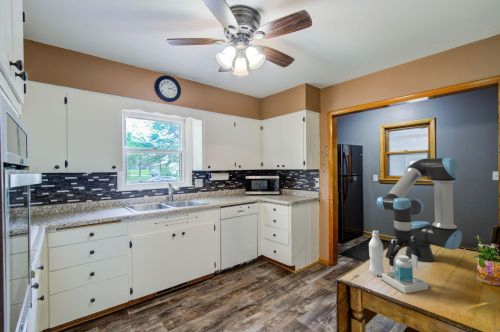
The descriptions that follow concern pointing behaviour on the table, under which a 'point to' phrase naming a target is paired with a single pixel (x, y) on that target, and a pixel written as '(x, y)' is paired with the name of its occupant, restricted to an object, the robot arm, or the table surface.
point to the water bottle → (376, 255)
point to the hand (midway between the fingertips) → (404, 269)
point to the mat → (399, 290)
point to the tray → (416, 286)
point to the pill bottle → (404, 270)
